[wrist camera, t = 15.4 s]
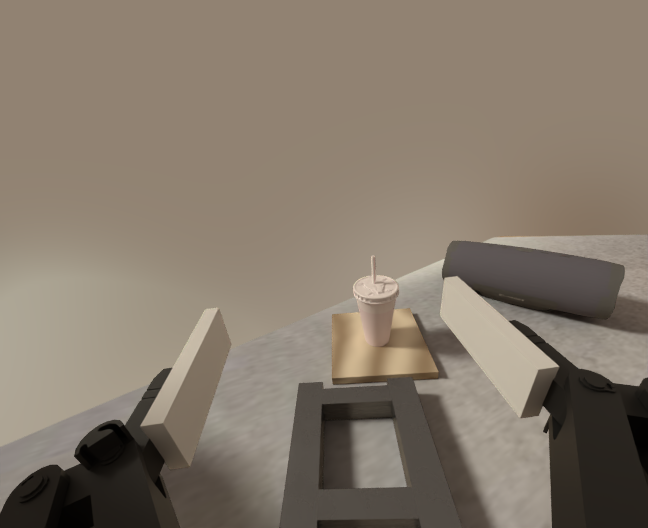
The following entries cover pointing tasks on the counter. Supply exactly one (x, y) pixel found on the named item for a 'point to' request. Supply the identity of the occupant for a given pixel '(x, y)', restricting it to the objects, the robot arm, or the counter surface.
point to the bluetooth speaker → (536, 277)
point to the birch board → (379, 351)
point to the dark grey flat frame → (365, 503)
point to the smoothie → (376, 305)
